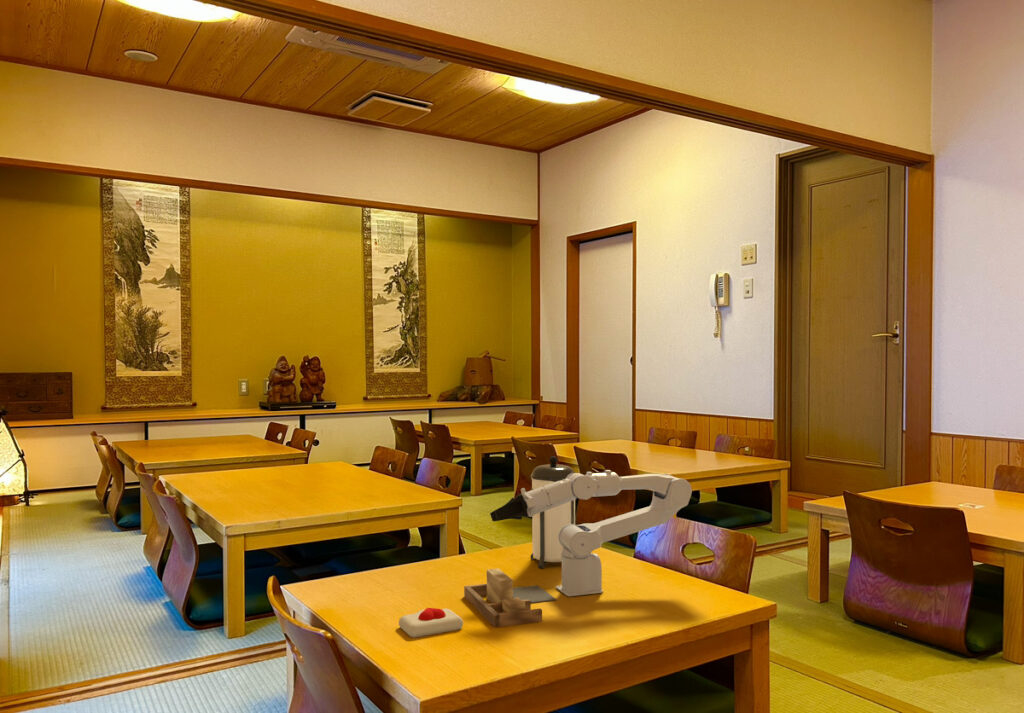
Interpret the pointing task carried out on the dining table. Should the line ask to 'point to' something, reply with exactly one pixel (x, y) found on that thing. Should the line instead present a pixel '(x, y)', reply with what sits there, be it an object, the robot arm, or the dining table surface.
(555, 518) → the coffee press
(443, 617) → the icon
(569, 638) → the dining table surface
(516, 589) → the mat
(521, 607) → the offcut upper
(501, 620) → the rack
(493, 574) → the tan wooden block
